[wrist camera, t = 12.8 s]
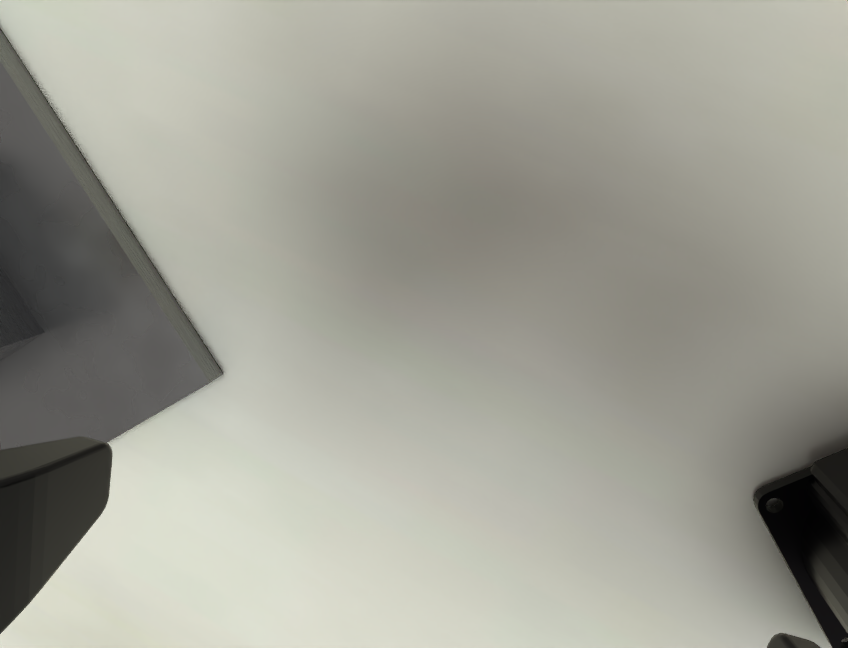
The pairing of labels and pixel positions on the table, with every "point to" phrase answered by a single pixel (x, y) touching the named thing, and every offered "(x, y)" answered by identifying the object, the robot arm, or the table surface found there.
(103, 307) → the stand
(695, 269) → the table surface
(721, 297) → the table surface
